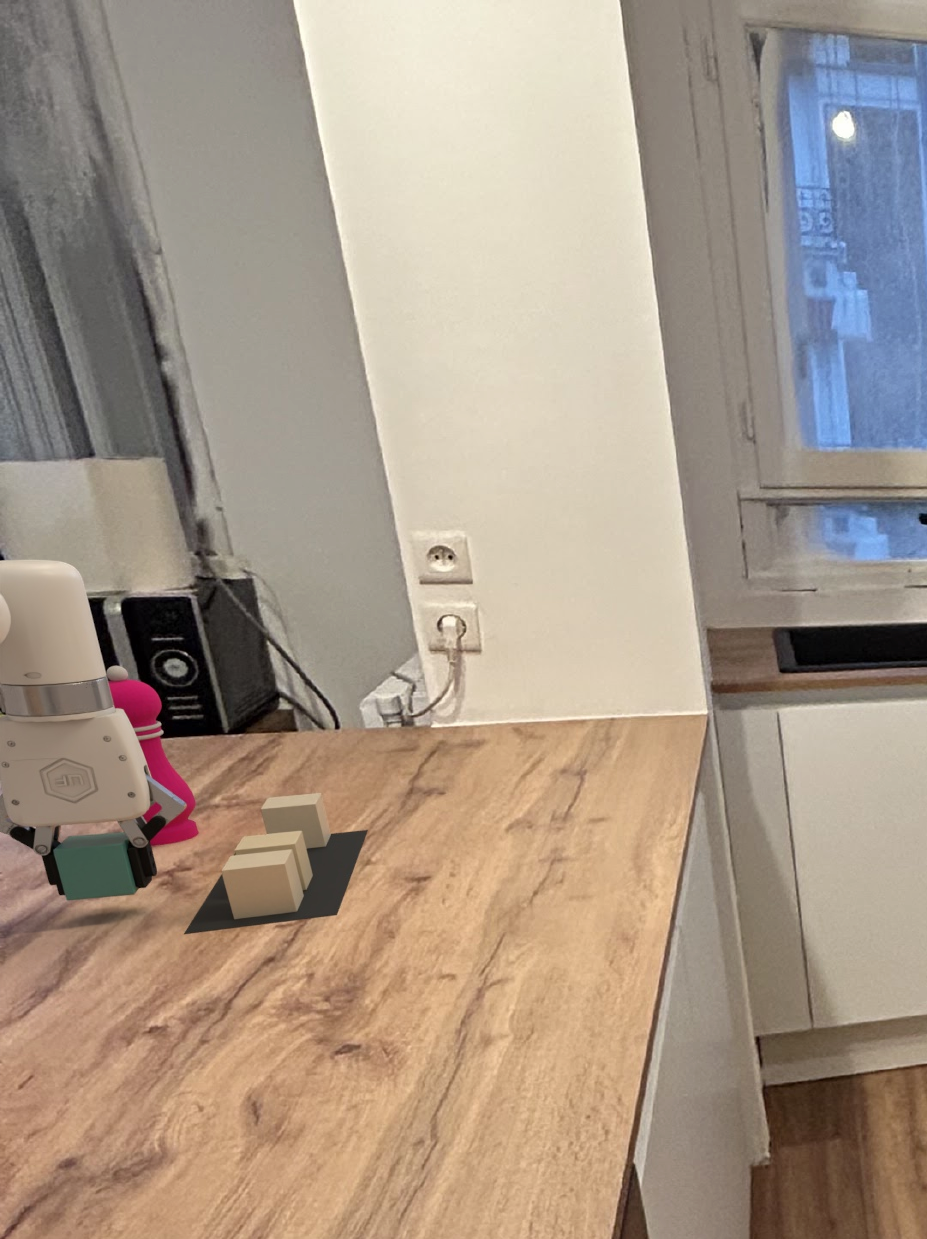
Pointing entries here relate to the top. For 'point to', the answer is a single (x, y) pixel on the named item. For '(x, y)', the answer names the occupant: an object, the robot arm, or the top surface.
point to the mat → (319, 898)
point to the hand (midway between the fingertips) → (106, 885)
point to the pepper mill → (153, 751)
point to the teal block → (95, 866)
